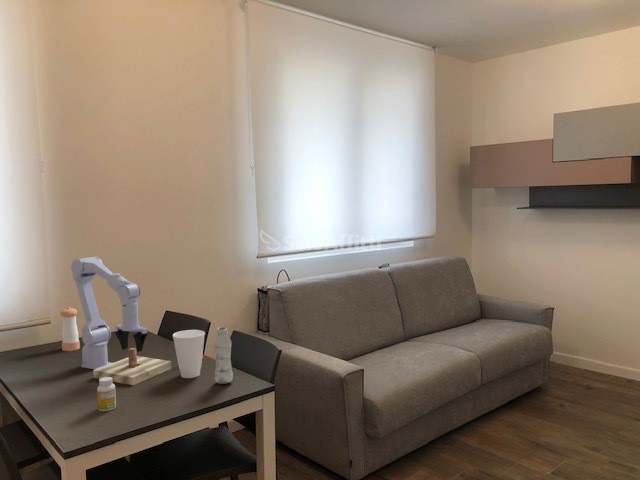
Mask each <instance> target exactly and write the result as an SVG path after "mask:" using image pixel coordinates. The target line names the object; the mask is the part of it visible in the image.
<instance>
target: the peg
mask: <svg viewBox="0 0 640 480" xmlns="http://www.w3.org/2000/svg"><path fill="white" fill-rule="evenodd" d="M127 352H128V353H127V355H128V356H127V358H128V359H129V368H135V367H137V356H138V355H137V353H138V352H137V350H136V347H131V348H130V347H129V348H127Z"/></svg>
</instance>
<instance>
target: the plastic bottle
mask: <svg viewBox="0 0 640 480" xmlns="http://www.w3.org/2000/svg"><path fill="white" fill-rule="evenodd" d="M216 335H217V336H216V337H215V338H214V340H213V348H214V350H213V351H214V354H215V355H214V357H215V372H214V379H215V382H216V383H217V384H219V385H224V384H225V385H226V384H230V383H231V382H232V381H233V377H234V373H233V368H232V362H231V361H232V360H231V355H232V354H231V353H232V340H231V338H230V336H228V327H223V326H221V327H217V328H216Z"/></svg>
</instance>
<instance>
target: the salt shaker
mask: <svg viewBox="0 0 640 480" xmlns="http://www.w3.org/2000/svg"><path fill="white" fill-rule="evenodd" d="M59 313H60V314H59V315H60V317H62V330H61V331H62V332H61V337H62V342H61V349H62V351H63V352H73V351H77V350H79V349H80V348H81V344H80V339H79V330H78V325H77V315H78V310H77V309H76V308H74V307H73V308H72V307H70V306H66V308H64V309H62V310H61V311H60V312H59Z"/></svg>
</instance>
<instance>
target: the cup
mask: <svg viewBox="0 0 640 480" xmlns="http://www.w3.org/2000/svg"><path fill="white" fill-rule="evenodd" d="M205 335H206V332H205V331H204V330H200V329H186V330H180V331H176V332H174V333H173V334H172V339H173V344H174V349H175V354H176V355H175V356H176V358H177V365H178V370H179V371H180V376H181V378H184V379H194V378H196V377H199V376H200V375H201V369H202V363H203V362H202V361H203V359H202V355H203V354H204V353H203V351H204V343H205Z"/></svg>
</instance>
